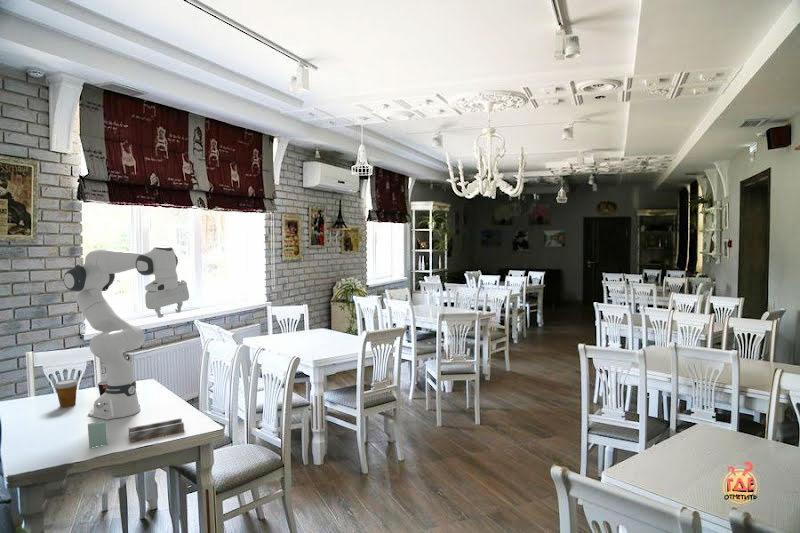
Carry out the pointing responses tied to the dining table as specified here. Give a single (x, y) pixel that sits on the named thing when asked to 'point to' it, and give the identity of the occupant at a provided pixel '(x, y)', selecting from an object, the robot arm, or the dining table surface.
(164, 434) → the rail
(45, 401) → the dining table surface
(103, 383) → the coffee mug
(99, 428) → the green rectangular box
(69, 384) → the disposable coffee cup
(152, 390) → the dining table surface
